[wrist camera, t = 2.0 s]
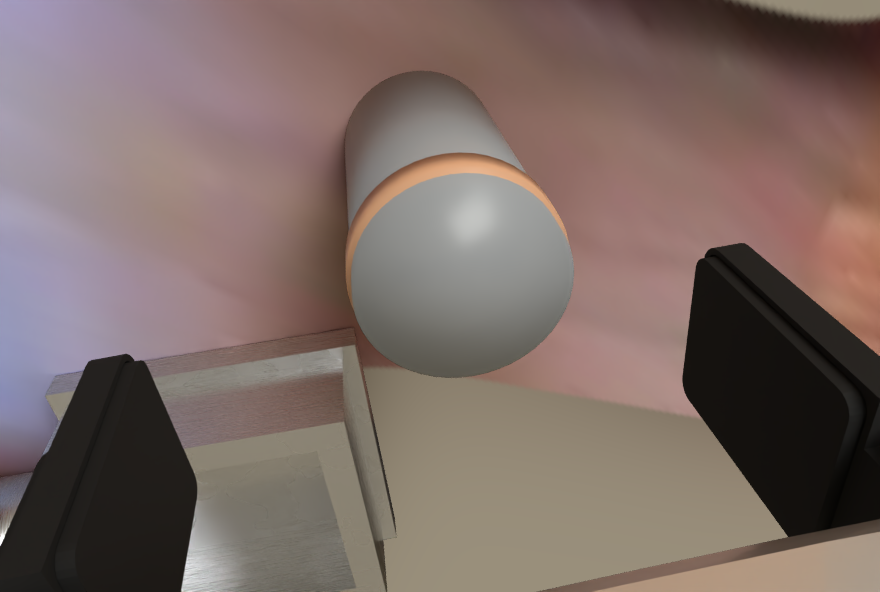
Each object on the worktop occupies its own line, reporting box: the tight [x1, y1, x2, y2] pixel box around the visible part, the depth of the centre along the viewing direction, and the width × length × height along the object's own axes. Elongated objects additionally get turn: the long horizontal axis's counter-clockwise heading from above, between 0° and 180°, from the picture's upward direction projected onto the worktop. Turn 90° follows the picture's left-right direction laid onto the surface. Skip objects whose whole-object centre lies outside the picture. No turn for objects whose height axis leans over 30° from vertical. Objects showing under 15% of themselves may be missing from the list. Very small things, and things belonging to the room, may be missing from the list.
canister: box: [345, 71, 574, 378], centre depth 17 cm, size 5×5×8 cm
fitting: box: [0, 328, 396, 592], centre depth 23 cm, size 16×10×4 cm, turn 96°
